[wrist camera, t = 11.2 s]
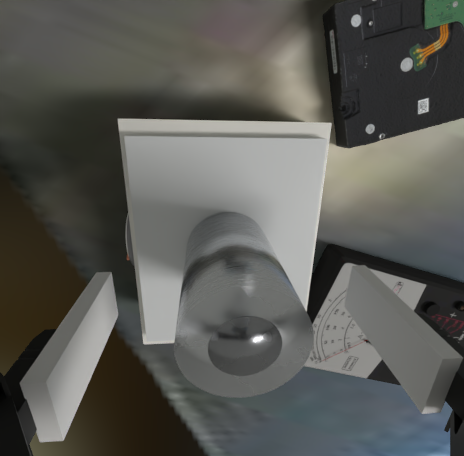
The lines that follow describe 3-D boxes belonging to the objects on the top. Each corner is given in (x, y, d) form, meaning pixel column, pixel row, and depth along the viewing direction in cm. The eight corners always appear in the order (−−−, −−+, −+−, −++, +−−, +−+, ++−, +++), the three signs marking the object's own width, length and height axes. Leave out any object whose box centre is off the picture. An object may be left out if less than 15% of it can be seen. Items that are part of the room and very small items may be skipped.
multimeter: (413, 368, 37) (444, 404, 32) (278, 339, 33) (289, 375, 29) (473, 284, 33) (517, 311, 28) (325, 240, 29) (348, 263, 24)
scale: (127, 118, 23) (100, 118, 17) (305, 122, 24) (336, 122, 18) (146, 305, 29) (132, 351, 24) (286, 300, 31) (306, 343, 25)
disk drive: (334, 148, 26) (494, 103, 26) (347, 152, 23) (526, 102, 23) (317, 16, 22) (505, -39, 22) (331, 3, 20) (545, -60, 19)
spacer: (184, 212, 20) (169, 290, 11) (270, 211, 20) (322, 284, 11) (187, 287, 22) (177, 403, 13) (265, 284, 22) (306, 393, 14)
